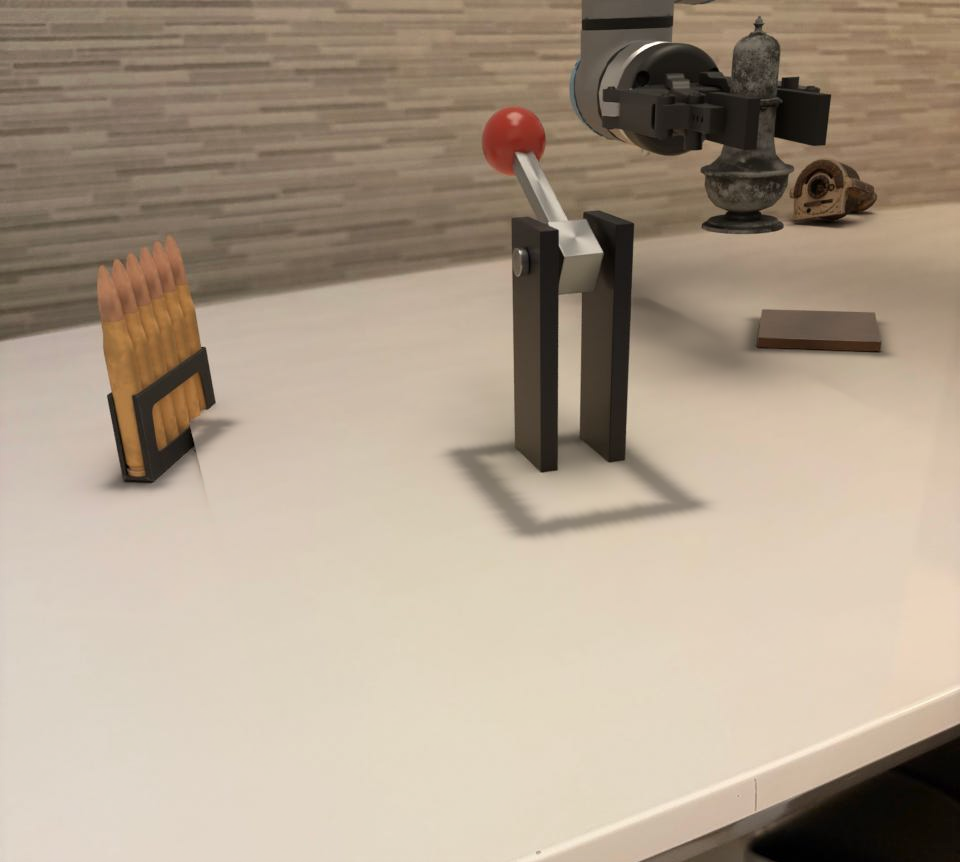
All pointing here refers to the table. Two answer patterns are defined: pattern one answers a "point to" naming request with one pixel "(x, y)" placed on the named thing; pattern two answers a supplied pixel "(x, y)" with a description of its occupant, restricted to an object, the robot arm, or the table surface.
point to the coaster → (819, 330)
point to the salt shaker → (750, 173)
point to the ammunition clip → (152, 360)
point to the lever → (542, 193)
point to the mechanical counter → (830, 191)
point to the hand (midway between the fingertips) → (787, 122)
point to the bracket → (599, 340)
